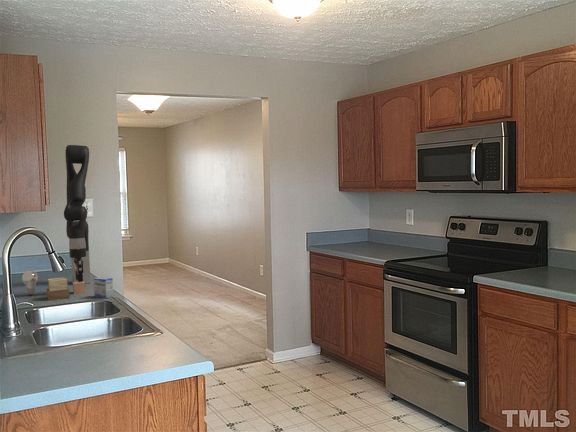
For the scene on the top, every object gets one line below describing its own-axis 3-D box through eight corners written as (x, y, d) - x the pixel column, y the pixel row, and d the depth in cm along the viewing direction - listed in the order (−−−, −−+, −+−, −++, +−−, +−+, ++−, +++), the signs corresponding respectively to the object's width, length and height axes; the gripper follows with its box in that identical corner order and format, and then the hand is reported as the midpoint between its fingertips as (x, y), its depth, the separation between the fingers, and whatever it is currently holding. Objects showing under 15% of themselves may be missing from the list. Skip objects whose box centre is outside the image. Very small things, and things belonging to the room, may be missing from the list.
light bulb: (35, 293, 270) (34, 268, 270) (41, 294, 265) (39, 270, 265) (20, 295, 265) (19, 270, 265) (26, 297, 260) (24, 271, 260)
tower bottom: (47, 298, 259) (46, 288, 259) (67, 295, 263) (67, 286, 263) (48, 301, 251) (47, 291, 251) (69, 298, 255) (69, 289, 255)
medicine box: (94, 297, 256) (93, 278, 256) (101, 295, 260) (100, 276, 260) (106, 298, 253) (105, 279, 252) (113, 296, 256) (112, 277, 256)
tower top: (48, 288, 258) (47, 279, 258) (65, 286, 262) (65, 277, 261) (49, 291, 251) (49, 281, 251) (67, 289, 255) (66, 279, 255)
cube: (73, 292, 270) (72, 282, 269) (84, 291, 272) (83, 281, 272) (74, 294, 265) (73, 283, 265) (85, 293, 267) (84, 282, 267)
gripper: (67, 247, 272) (69, 279, 272) (70, 249, 259) (72, 283, 260) (83, 245, 275) (85, 278, 276) (87, 247, 263) (89, 281, 263)
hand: (79, 280), depth 268 cm, fingers open, 8 cm apart
